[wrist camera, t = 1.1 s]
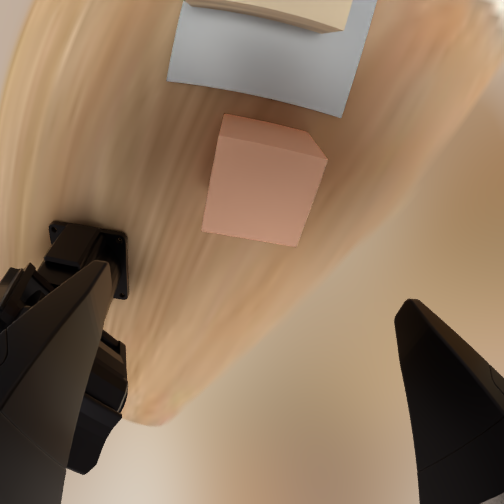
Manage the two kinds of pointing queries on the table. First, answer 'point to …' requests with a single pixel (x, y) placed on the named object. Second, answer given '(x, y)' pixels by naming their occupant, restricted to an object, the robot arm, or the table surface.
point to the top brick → (262, 181)
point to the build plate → (270, 56)
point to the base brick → (288, 11)
